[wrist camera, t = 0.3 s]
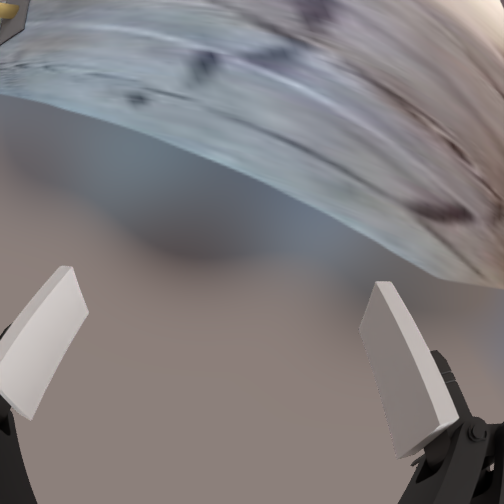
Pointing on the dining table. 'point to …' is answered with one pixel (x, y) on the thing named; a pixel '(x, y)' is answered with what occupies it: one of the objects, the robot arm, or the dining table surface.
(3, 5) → the peg
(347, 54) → the dining table surface
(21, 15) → the mat
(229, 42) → the dining table surface
